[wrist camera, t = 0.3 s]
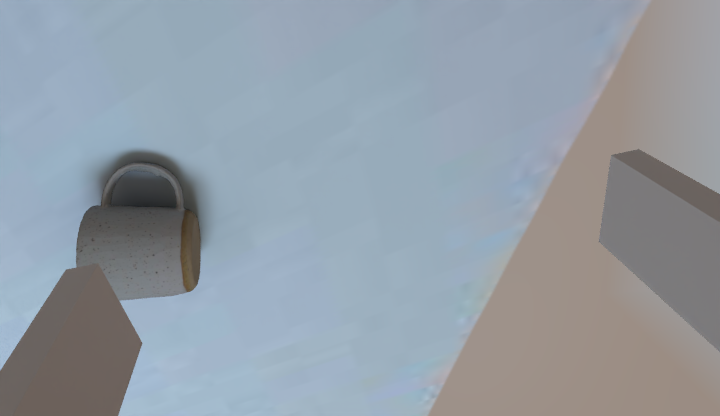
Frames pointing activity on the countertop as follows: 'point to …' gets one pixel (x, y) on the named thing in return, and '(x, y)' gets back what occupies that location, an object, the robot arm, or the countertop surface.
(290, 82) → the countertop surface
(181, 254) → the ceramic mug
